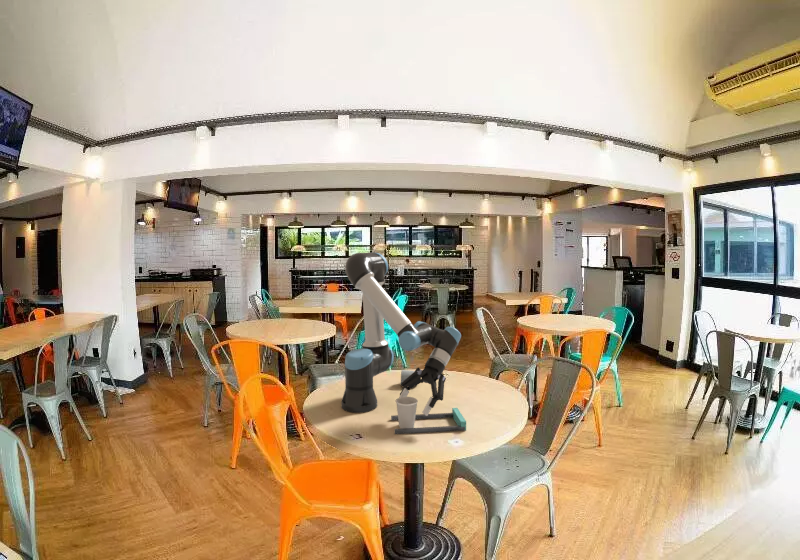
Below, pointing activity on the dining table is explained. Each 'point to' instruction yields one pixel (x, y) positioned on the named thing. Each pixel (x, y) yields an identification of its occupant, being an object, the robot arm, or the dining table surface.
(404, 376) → the ceramic mug
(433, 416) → the guide rails
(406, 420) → the dixie cup
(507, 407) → the dining table surface
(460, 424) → the teal band
